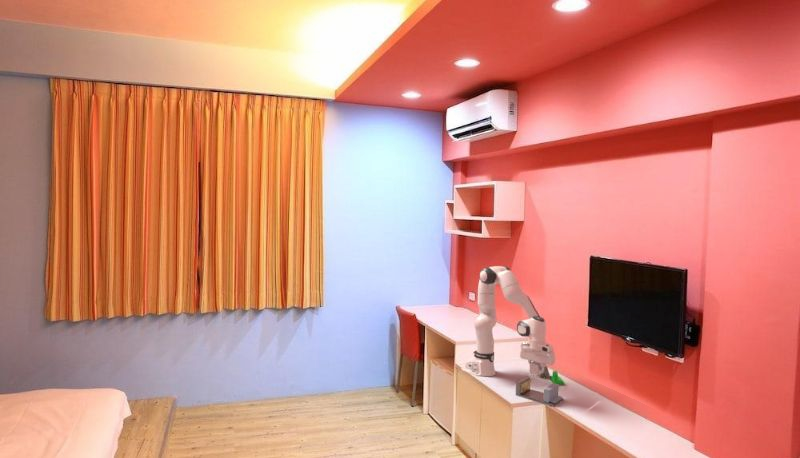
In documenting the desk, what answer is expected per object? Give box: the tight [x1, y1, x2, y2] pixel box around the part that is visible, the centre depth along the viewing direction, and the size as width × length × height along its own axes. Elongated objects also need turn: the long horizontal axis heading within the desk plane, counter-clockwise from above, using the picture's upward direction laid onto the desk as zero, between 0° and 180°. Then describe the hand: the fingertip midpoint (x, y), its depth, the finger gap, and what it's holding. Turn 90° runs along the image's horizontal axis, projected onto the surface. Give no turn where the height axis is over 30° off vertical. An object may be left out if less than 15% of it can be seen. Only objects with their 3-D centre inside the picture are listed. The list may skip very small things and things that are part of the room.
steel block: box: [529, 361, 544, 377], centre depth 283 cm, size 5×8×6 cm, turn 139°
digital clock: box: [535, 365, 551, 380], centre depth 320 cm, size 14×8×9 cm, turn 8°
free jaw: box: [543, 382, 563, 403], centre depth 276 cm, size 7×13×7 cm, turn 139°
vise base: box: [515, 376, 564, 408], centre depth 282 cm, size 23×13×8 cm, turn 49°
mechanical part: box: [549, 370, 565, 386], centre depth 310 cm, size 12×6×8 cm, turn 176°
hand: (536, 369), depth 283 cm, fingers closed on steel block, 5 cm apart
